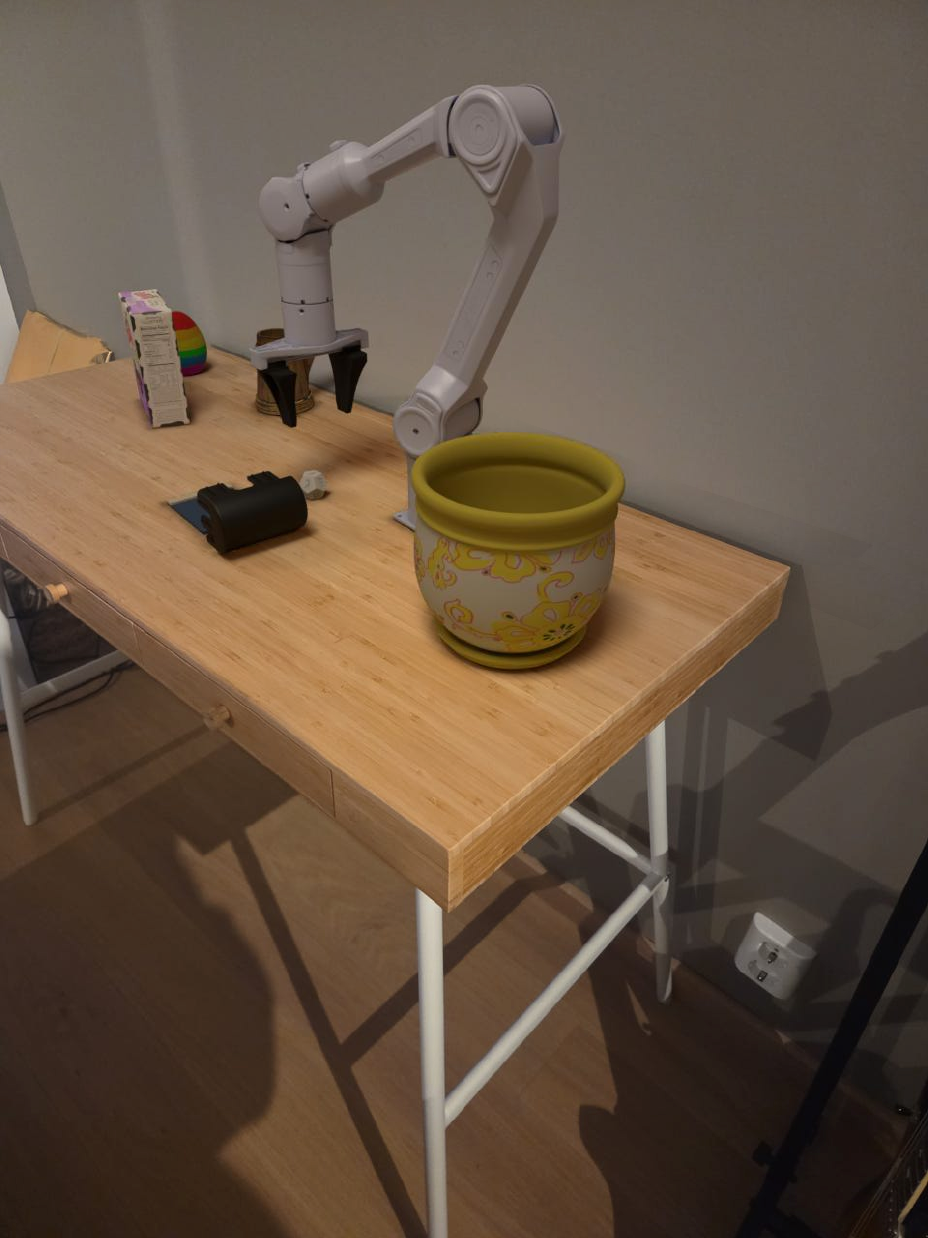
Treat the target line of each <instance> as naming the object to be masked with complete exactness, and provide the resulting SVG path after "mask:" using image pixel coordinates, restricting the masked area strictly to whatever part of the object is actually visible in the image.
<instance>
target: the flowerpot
mask: <svg viewBox="0 0 928 1238" xmlns="http://www.w3.org/2000/svg"><path fill="white" fill-rule="evenodd" d="M411 484H412V488H413V490H414V492H415V494H416V497H415V507H416V511H417V517H416V523H415V531H414V530H413V531H414V532H413V534H414V535H413V565H414V572H415V577H416V578H415V579H416V581H417V585H418V588H419V591H420V593H421V596H422V598H423V600H424V602H425V603H426V605H427V607H428V609H429V610H430V611H431V613H432V614H433V625H434V628H435V631H436V633H437V635H438V636H439V637H440V639H441V640H442V641H443V642H444V643H445V644H446V645H448V646H449V647H450V648H451V649H453V651H454V652H455V653H457V654H458V655H460V656H462V657H463V658H465V659H467V660H469V661H471V662H473V663H476V664H478V665H481V666H485V667H488V668H489V667H490V668H495V669H501V670H502V669H503V670H525V669H532V668H538V667H541V666H545V665H547V664H550V663H552V662H555V661H557V660H558V659H560V658H561V657H563V656H564V655H565V654H568V653H569V652H571V651H572V650H574V648H575V647H577V646H578V645H579V644H580V642H581V641H582V640H583V638H584V636H585V635H586V631H587V623H588V622H589V621H590V619H592V617H593V616H594V615H595V614H596V612H597V610H598V609H599V607H600V606H601V604H602V602H603V601H604V599H605V596H606V594H607V592H608V589H609V587H610V583H611V579H612V575H613V572H614V571H613V570H614V565H615V564H614V563H615V556H616V525H615V524H616V520H617V517H618V514H619V503H620V501H621V500H622V498H623V496H624V495H625V490H626V477H625V474H624V471H623V469H622V468H621V466H620V465H619V464H618V463H617V462H616V461H615V460H614V459H613V458H611V456H609V455H607V454H606V453H604V451H601V450H599V449H597V448H595V447H593V446H590V445H588V444H585V443H583V442H579V441H577V440H573V439H569V438H565V437H560V436H555V435H551V434H543V433H533V432H521V431H520V432H519V431H518V432H517V431H514V432H513V431H503V432H484V433H476V434H472V435H470V436H464V437H460V438H456V439H452V440H449V441H446V442H443V443H441V444H438V445H436V446H434V447H432V448H430V449H429V450H427V451H426V452H424V453H423V454H422V455H421V456H420V457H419V458H418V459H417V460H416V461H415V463H414V465H413V467H412V470H411Z"/></svg>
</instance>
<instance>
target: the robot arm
mask: <svg viewBox="0 0 928 1238" xmlns="http://www.w3.org/2000/svg"><path fill="white" fill-rule="evenodd" d="M565 138H566V133H565V130H564V127H563V124H562V121H561V119H560V116H559V113H558V110H557V107H556V105H555V102H554V100H553V99H552V98H551V96H550V95H549V93H548V92H547V91H545V90H544V88H542V87H540V86H538V85H535V84H532V83H521V84H519V85H516V86H493V85H491V84H477V85H472V86H471V87H468V88H467V89H466V90H465V91H464V90H463V92H462V93H461V94H454V95H451V96H447V97H445V98H443V99H441V100H440V101H438V102H437V103H436V104H434V105H433V106H431V107H429V108H428V109H426V110H425V111H423V112H422V113H420V114H419V115H417V116H416V117H414V118H412V119H410V120H409V121H408V122H406V123H405V124H403V125H402V126H399V128H397V129H396V130H393V131H392V132H391V133H389V134H388V135H386V136H385V137H383V138H381V139H380V140H378V141H377V142H375V143H374V144H372V145H371V146H366V145H365V144H364V143H361V142H358V141H349V142H348V141H347V140H346V139H341V140H336V141H334V142H332V143H331V144H329V147H328V148H329V150H330V153H328V154H327V155H325V156H323V157H321V158H319V159H318V160H316V161H314V162H313V163H312V162H310V161H308V162H302V163H301V164H299V165H297V167H296V170H297V173H295V175H294V176H290V177H284V176H274V177H270V179H269V181H268V182H267V183H266V184H265V185H264V186H263V187H262V189H261V191H260V195H259V198H258V211H259V215H260V219H261V221H262V224H263V226H264V228H265V229H266V230H267V232H268V233H269V234H270V235H271V237H273V238H274V239H273V240H274V246H275V247H274V248H275V257H276V266H277V275H278V286H279V295H280V304H281V312H282V313H281V314H282V321H283V322H282V323H283V329H284V333H285V338H282V339H279V340H277V341H274V342H271V343H268V344H265V345H262V346H259V347H255V346H254V347H251V348H250V347H249V359H250V366H251V367H252V368H254V369H256V372H257V371H258V373H259V374H260V376H261V377H262V378H263V380H264V382H265V383H266V385H267V386H268V388H269V390H270V392H271V394H272V396H273V398H274V400H275V402H276V405H277V407H278V410H279V412H280V415H279V416H280V419H281V422H282V424H283V425H285V426H286V427H288V428H291V429H293V428H297V427H298V426H297V425H298V417H297V414H296V406H295V386H296V378H297V374H296V373H295V372H293V371H291V370H289V366H286V363H287V362H292V361H296V360H301V359H306V358H311V357H315V358H316V357H319V356H324V355H325V356H326V355H327V356H328V358H329V362H330V363H329V364H330V367H331V370H332V371H331V372H332V376H333V381H334V382H333V383H334V393H335V404H336V409H337V411H340V412H343V413H345V414H346V415H348V414H351V413H352V410H353V405H354V399H355V394H356V390H357V386H358V383H359V380H360V377H361V375H362V373H363V371H364V368H365V367H366V365H367V363H368V353H367V352H366V351H363V349H368V348H370V342H369V341H370V339H369V331H368V330H366V329H364V328H361V327H355V328H348V329H337V330H336V319H335V305H334V304H335V303H334V293H333V290H334V289H333V279H332V278H333V276H332V265H331V263H332V262H331V251H330V250H331V247H332V246H333V232H334V231H333V230H334V229H335V227H336V225H337V224H338V223H339V222H341V221H343V220H345V219H348V218H349V217H351V216H353V215H355V214H357V213H359V212H361V211H363V210H365V209H367V208H369V207H371V206H373V205H375V204H376V203H378V202H379V201H380V200H381V198H382V196H383V194H384V192H385V191H384V190H385V185H386V182H387V181H390V180H392V179H395V178H397V177H399V176H401V175H403V174H405V173H407V172H409V171H412V170H414V169H415V168H418V167H421V166H422V165H424V164H427V163H429V162H430V161H433V160H436V159H437V158H440V157H443V158H445V159H454V158H455V159H456V158H457V159H458V162H460V164H461V165H462V167H463V168H464V169H465V171H466V173H467V174H468V175H469V176H470V178H471V179H472V181H473V182H474V184H475V185H476V186H477V188H478V189H479V191H480V192H481V194H482V195H483V196H484V198H485V199H486V201H487V204H488V206H489V209H490V211H491V214H492V217H493V221H492V223H491V226H490V228H489V231H488V234H487V236H486V238H485V241H484V243H483V245H482V248H481V250H480V252H479V255H478V258H477V260H476V262H475V265H474V267H473V269H472V271H471V274H470V276H469V279H468V281H467V284H466V286H465V289H464V291H463V294H462V296H461V299H460V301H459V303H458V305H457V308H456V310H455V313H454V315H453V318H452V320H451V322H450V324H449V327H448V330H447V331H446V335H445V337H444V338H443V339H444V340H443V342H442V344H441V346H440V349H439V351H438V354H437V356H436V359H435V361H434V363H433V365H432V366H431V368H430V369H429V370H428V371H427V372H426V373H425V375H424V376H422V378H421V379H420V380H419V381H418V383H417V384H415V386H414V387H413V391H412V393H411V395H410V396H409V398H408V399H407V400H406V401H405V402H403V403H402V404H401V405H400V406H398V407H397V409H396V411H395V412H394V415H393V418H392V430H393V434H394V437H395V441H396V442H397V444H398V445H399V446H400V448H401V449H402V450H403V451H404V456H405V457H406V467H407V468H406V471H407V472H406V473H407V477H406V479H407V509H406V508H405V509H403V510H401V511H398V512H394V513H393V517H392V518H393V519H394V520H396V521H397V522H399V523H401V524H403V525H404V526H405V527H407V528H408V529H410V530H412V531H415V523H416V517H417V511H416V507H415V497H416V494H415V492H414V490H413V488H412V484H411V470H412V467H413V465H414V463H415V461H416V460H417V459H418V458H419V457H420V456H421V455H422V454H423V453H424V452H426V451H427V450H429V449H430V448H432V447H434V446H436V445H438V444H441V443H443V442H446V441H449V440H452V439H456V438H460V437H464V436H470V435H473V432H474V431H476V430H477V429H478V428H479V426H480V425H481V422H482V420H483V415H484V406H483V405H484V398H485V396H486V393H487V391H488V389H489V386H488V383H486V381H485V379H484V377H485V375H486V374H487V371H488V369H489V367H490V365H491V363H492V360H493V358H494V356H495V354H496V352H497V350H498V348H499V346H500V344H501V342H502V339H503V337H504V335H505V333H506V330H507V328H508V327H509V325H510V322H511V320H512V318H513V315H514V314H515V311H516V309H517V307H518V306H519V303H520V301H521V299H522V297H523V294H524V292H525V290H526V289H527V286H528V284H529V282H530V280H531V278H532V276H533V273H534V271H535V269H536V267H537V265H538V263H539V260H540V259H541V256H542V254H543V252H544V250H545V247H546V246H547V244H548V242H549V239H550V237H551V235H552V233H553V231H554V229H555V226H556V224H557V220H558V217H559V210H560V209H559V205H560V204H559V202H560V200H559V199H560V155H561V151H562V149H563V147H564V146H563V145H564V142H565Z"/></svg>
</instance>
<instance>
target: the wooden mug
mask: <svg viewBox="0 0 928 1238" xmlns="http://www.w3.org/2000/svg"><path fill="white" fill-rule="evenodd" d="M282 338H285V333H284V327H273V328H272V327H271V328H265V329H261V330H259V331H257V332H256V342H255V345H254V348H255V347H259V346H262V345H265V344H268V343H271V342H274V341H277V340H279V339H282ZM315 359H316V357H311V358H306V359H301V360H296V361H292V362H287V363H286V366H289V370H291V371H293V372H295V373H296V374H297V378H296V386H295V406H296V415H297V414H301V413H304V412H305V411H308V410H310V409H312V408H313V407H314V406H315V399H314V395H313V391H312V390H311V388H310V373H311V371H312V367H313V364H314V362H315ZM256 382H257V383H256V385H257V387H256V388H257V390H256V391H257V392H256V394H255V405H254V406H255V409H256V410H257V411H259V413H263V414H267V415H274V416H281V415H280V412H279V410H278V407H277V405H276V402H275V400H274V398H273V396H272V394H271V392H270V390H269V388H268V386H267V385H266V383H265V382H264V380H263V378H262V377H261V376H260V374H259V373H258V371H257V370H256Z"/></svg>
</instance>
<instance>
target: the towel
mask: <svg viewBox="0 0 928 1238" xmlns="http://www.w3.org/2000/svg"><path fill="white" fill-rule="evenodd" d="M224 484H225V485H226V486H227V487H229V488H231V489H234V487H233V485H232V484H231V483H229V482H225V483H224ZM198 491H199V490H197V491H194V492H193V491H192V492H190V493H186V494H182V495H179V496H175V497H171V498H168V499H166V505H168V506H169V507H170V508H171V509H172V510H173V511H175V512H176V513H177V514H178V515H179V516H181V517H182V518H183V519H184V520H186V521H187V522H188V523H189V524H190V525H191V526H192V527H194V528H195V529H196V530H198V531H199V532H200V533H201V534H202V535H207V534H210V532H209V531H207V530H206V529H205V528H204V527H203V525H202V522H201V521H200V520H201V515H205V516H206V517H208V518H209V519H210V515H209V513H208V512H207V511H205V510H204V509H203V508H202V507H201V506H199V504H198V503H197V500H198V497H197V492H198Z"/></svg>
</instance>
